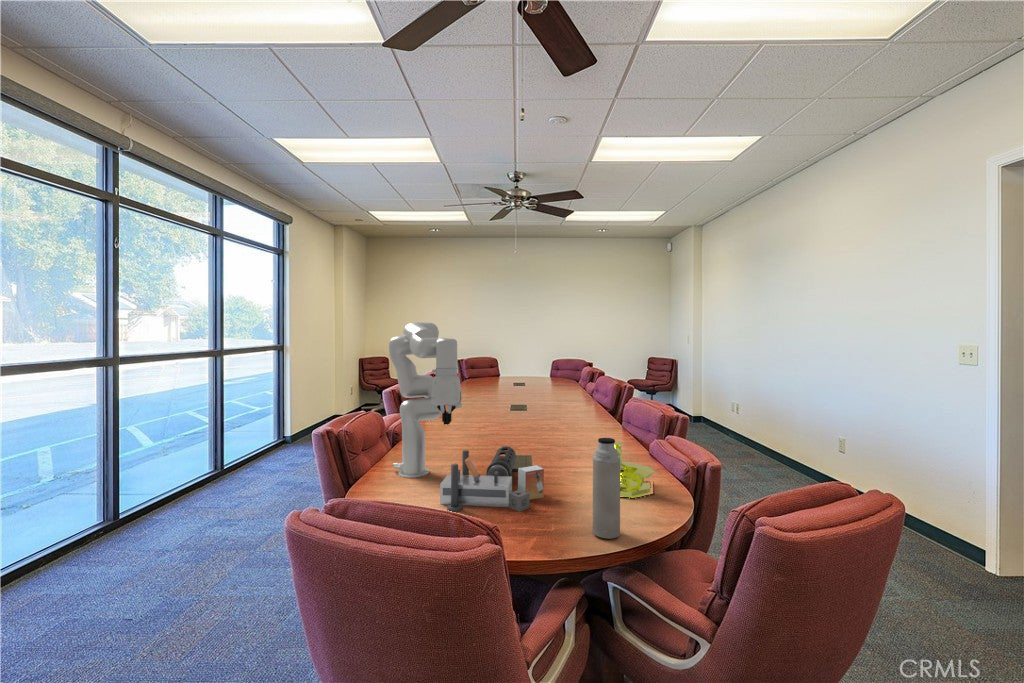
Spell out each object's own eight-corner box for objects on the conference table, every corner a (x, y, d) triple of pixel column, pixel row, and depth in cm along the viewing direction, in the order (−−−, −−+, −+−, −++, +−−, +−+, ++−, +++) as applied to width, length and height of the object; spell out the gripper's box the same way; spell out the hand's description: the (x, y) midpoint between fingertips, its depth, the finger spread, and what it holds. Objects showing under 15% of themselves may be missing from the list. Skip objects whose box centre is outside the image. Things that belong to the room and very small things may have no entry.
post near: (445, 511, 146) (445, 466, 146) (449, 505, 151) (449, 462, 151) (460, 512, 145) (460, 467, 145) (463, 506, 150) (463, 462, 150)
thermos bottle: (594, 525, 136) (595, 434, 135) (621, 528, 133) (621, 436, 133) (590, 536, 128) (590, 440, 128) (618, 540, 125) (619, 442, 125)
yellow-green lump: (602, 495, 161) (602, 453, 161) (607, 475, 185) (607, 438, 185) (655, 501, 156) (655, 457, 156) (653, 479, 180) (653, 441, 180)
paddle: (475, 482, 155) (463, 461, 155) (477, 478, 158) (466, 458, 159) (479, 480, 154) (467, 459, 155) (481, 476, 158) (469, 456, 159)
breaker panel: (439, 504, 152) (439, 475, 152) (447, 493, 163) (447, 466, 163) (508, 507, 150) (508, 478, 149) (511, 495, 161) (512, 468, 161)
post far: (457, 492, 164) (457, 452, 164) (460, 487, 169) (460, 449, 169) (470, 493, 163) (470, 452, 163) (473, 488, 168) (473, 449, 168)
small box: (525, 501, 155) (525, 471, 155) (517, 496, 160) (517, 467, 160) (544, 497, 159) (544, 468, 159) (536, 492, 164) (536, 464, 164)
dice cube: (508, 507, 150) (508, 493, 150) (519, 503, 153) (519, 489, 153) (519, 512, 146) (519, 497, 146) (529, 507, 149) (529, 493, 149)
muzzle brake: (516, 469, 194) (516, 445, 193) (510, 491, 166) (510, 464, 166) (495, 468, 194) (495, 445, 194) (485, 490, 167) (485, 463, 166)
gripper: (423, 373, 154) (423, 425, 154) (465, 373, 153) (465, 426, 153) (429, 371, 162) (429, 421, 162) (469, 372, 160) (469, 422, 160)
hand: (446, 423), depth 157 cm, fingers closed
